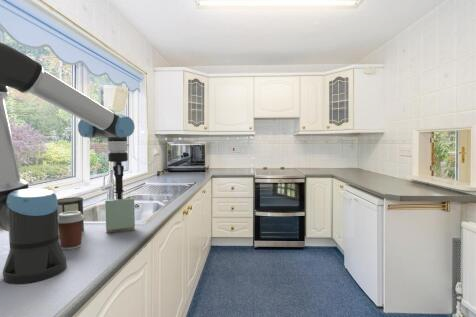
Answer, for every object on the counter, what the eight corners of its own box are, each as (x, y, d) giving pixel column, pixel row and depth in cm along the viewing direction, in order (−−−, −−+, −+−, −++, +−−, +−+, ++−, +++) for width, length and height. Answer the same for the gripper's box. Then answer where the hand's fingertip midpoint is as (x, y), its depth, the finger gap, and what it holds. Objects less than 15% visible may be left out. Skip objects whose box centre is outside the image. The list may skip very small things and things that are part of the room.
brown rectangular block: (134, 229, 128) (134, 215, 127) (106, 232, 123) (105, 218, 123) (134, 228, 129) (133, 214, 129) (106, 231, 125) (105, 217, 125)
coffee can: (73, 228, 129) (71, 196, 128) (89, 231, 125) (88, 198, 124) (49, 235, 120) (47, 200, 119) (66, 239, 116) (65, 202, 115)
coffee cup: (67, 252, 102) (65, 217, 101) (50, 248, 106) (49, 214, 105) (91, 244, 110) (90, 211, 109) (75, 240, 114) (73, 209, 113)
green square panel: (134, 227, 126) (134, 198, 125) (106, 230, 122) (105, 200, 121) (134, 226, 127) (133, 198, 126) (106, 229, 123) (105, 200, 122)
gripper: (128, 152, 121) (130, 210, 123) (126, 151, 133) (127, 204, 135) (108, 152, 118) (110, 212, 120) (108, 151, 130) (109, 205, 132)
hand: (119, 207), depth 127 cm, fingers closed
